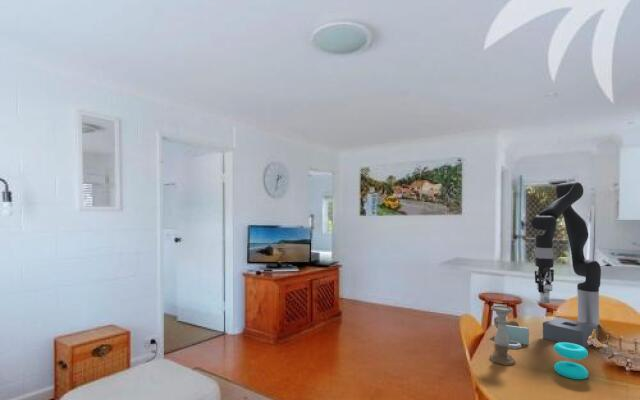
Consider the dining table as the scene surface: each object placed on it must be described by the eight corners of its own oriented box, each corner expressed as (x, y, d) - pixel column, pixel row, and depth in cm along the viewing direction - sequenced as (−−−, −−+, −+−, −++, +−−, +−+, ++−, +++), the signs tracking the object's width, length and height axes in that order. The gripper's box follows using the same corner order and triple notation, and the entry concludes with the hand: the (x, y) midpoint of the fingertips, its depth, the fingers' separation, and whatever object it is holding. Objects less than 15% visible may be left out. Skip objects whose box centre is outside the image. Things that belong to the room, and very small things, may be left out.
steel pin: (541, 299, 182) (540, 282, 182) (555, 302, 176) (554, 284, 177) (534, 301, 178) (534, 283, 178) (548, 304, 173) (548, 286, 173)
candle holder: (512, 367, 135) (512, 312, 136) (487, 361, 141) (486, 308, 141) (516, 360, 142) (516, 307, 143) (492, 354, 148) (492, 303, 148)
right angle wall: (498, 349, 155) (497, 331, 156) (498, 340, 166) (498, 324, 166) (530, 354, 150) (530, 335, 150) (528, 345, 161) (528, 327, 161)
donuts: (586, 353, 123) (552, 346, 130) (587, 383, 123) (552, 375, 129) (588, 345, 131) (555, 339, 138) (589, 373, 131) (556, 366, 137)
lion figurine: (499, 338, 168) (499, 318, 168) (490, 334, 173) (490, 315, 173) (524, 335, 173) (524, 315, 173) (514, 331, 178) (514, 312, 178)
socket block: (558, 332, 178) (558, 317, 178) (597, 341, 165) (597, 325, 165) (542, 338, 169) (542, 322, 169) (583, 348, 155) (582, 332, 156)
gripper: (543, 255, 185) (543, 288, 184) (528, 257, 177) (528, 291, 177) (559, 256, 179) (560, 291, 178) (545, 258, 171) (545, 294, 170)
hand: (544, 291), depth 177 cm, fingers closed on steel pin, 6 cm apart
